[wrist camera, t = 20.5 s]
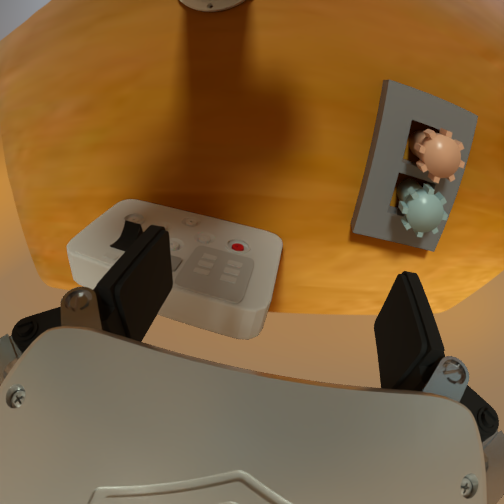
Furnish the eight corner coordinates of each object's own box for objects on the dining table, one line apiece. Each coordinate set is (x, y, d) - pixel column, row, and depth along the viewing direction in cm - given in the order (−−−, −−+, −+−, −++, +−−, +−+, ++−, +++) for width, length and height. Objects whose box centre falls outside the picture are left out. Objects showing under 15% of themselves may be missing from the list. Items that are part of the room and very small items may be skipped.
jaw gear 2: (392, 166, 36) (408, 184, 30) (432, 174, 35) (453, 193, 28) (384, 208, 40) (397, 233, 33) (423, 214, 39) (440, 240, 32)
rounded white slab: (288, 222, 44) (272, 300, 29) (277, 262, 49) (258, 345, 34) (125, 184, 46) (55, 234, 31) (126, 222, 50) (66, 279, 35)
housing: (383, 80, 30) (389, 79, 28) (468, 113, 29) (477, 115, 26) (350, 223, 42) (352, 232, 40) (428, 242, 41) (433, 251, 38)
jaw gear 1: (405, 114, 32) (426, 122, 25) (445, 129, 31) (471, 140, 25) (395, 158, 35) (413, 175, 29) (434, 170, 35) (456, 189, 28)
